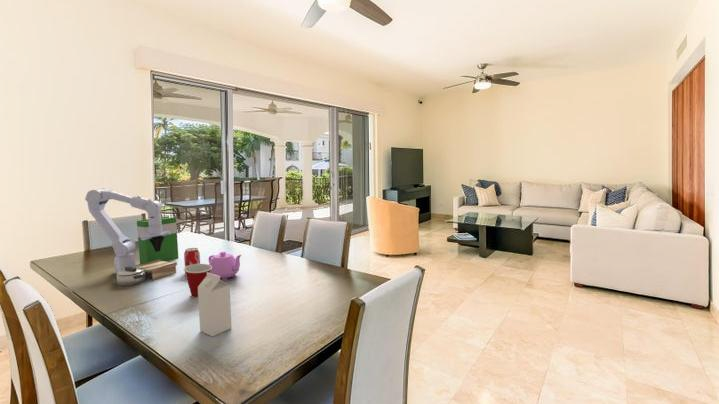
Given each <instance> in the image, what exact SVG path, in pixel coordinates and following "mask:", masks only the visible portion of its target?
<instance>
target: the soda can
mask: <svg viewBox="0 0 719 404" xmlns="http://www.w3.org/2000/svg"><path fill="white" fill-rule="evenodd" d="M183 255H184V256H183V259H184V267H186V266H189V265H193V264H201V253H200V251H199V249H198V247H189V248H186V249H185V251H184V253H183Z"/></svg>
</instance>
